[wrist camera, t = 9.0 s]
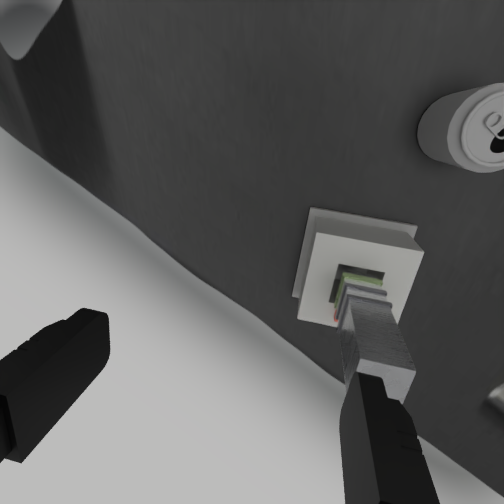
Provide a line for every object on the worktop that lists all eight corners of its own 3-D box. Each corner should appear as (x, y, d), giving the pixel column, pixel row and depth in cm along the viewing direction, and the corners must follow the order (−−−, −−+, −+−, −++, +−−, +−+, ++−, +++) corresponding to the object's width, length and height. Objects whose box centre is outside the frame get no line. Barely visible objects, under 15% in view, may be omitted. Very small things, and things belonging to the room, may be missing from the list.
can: (442, 174, 40) (490, 193, 29) (401, 130, 39) (435, 133, 28) (500, 125, 37) (578, 126, 26) (457, 77, 36) (520, 57, 25)
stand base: (310, 206, 44) (309, 224, 36) (415, 224, 42) (440, 248, 34) (292, 294, 49) (287, 327, 41) (385, 313, 48) (399, 352, 40)
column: (341, 267, 38) (358, 355, 24) (379, 274, 38) (420, 369, 23) (333, 299, 40) (343, 399, 25) (369, 306, 39) (401, 413, 25)
